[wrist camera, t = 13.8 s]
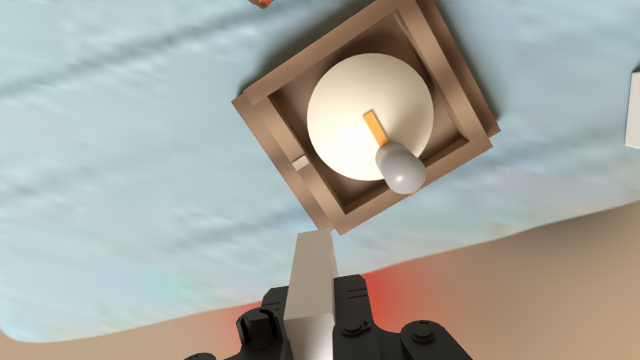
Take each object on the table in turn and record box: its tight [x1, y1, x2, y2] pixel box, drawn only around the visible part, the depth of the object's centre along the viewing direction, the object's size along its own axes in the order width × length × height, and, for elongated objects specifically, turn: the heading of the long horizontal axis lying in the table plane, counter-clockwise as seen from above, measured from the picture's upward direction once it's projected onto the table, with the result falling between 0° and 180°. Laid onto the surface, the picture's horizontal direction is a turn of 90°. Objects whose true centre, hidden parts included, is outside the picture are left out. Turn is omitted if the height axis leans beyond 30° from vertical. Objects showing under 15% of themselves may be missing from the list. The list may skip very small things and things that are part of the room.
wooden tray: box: [231, 0, 501, 236], centre depth 36 cm, size 16×20×5 cm
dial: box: [307, 53, 434, 194], centre depth 32 cm, size 11×11×8 cm
